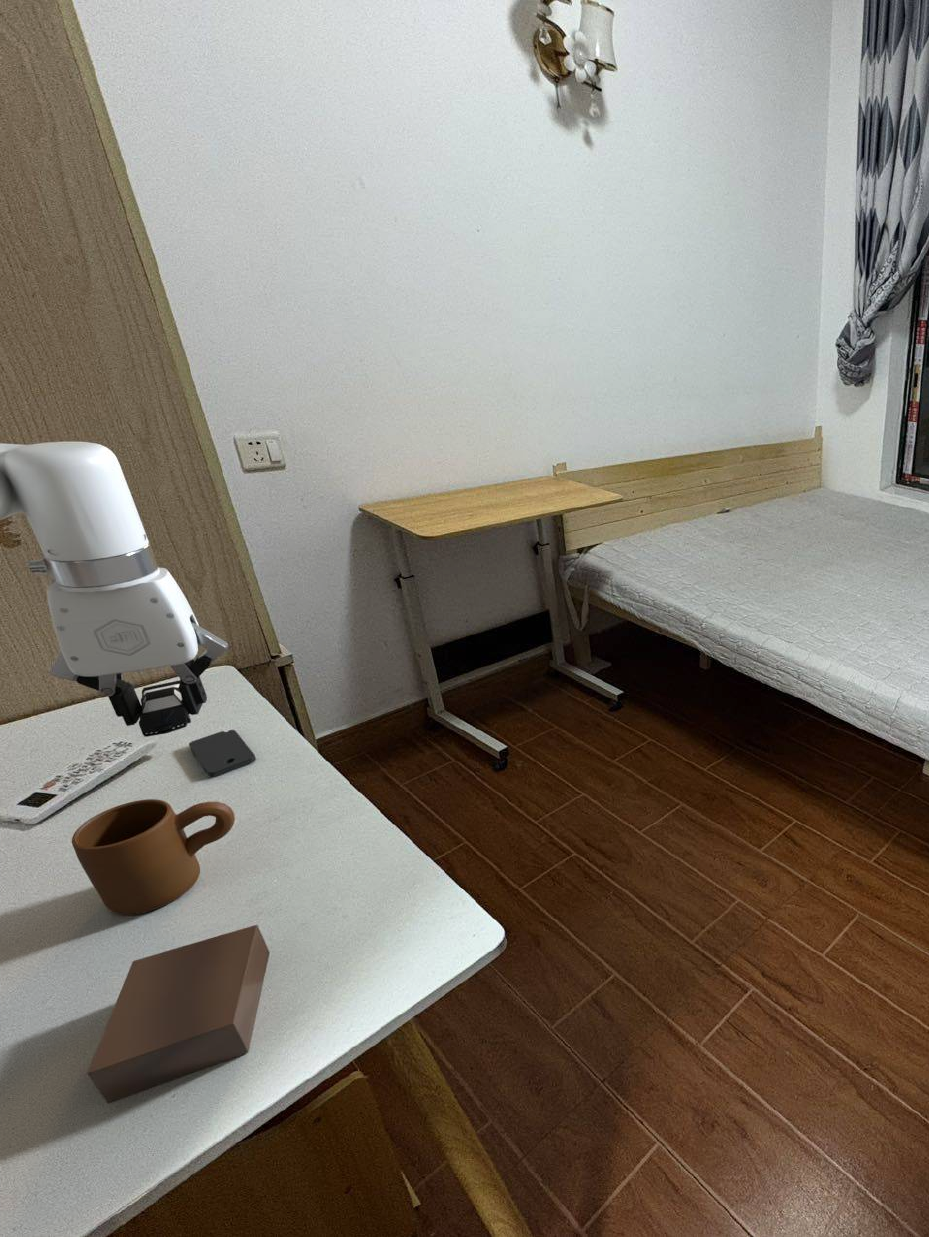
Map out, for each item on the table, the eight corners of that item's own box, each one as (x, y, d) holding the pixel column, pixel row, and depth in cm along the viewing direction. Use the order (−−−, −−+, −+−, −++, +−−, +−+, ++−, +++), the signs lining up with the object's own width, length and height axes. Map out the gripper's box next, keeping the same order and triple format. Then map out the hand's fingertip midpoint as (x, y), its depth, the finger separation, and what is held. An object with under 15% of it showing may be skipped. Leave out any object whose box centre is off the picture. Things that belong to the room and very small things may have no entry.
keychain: (232, 727, 97) (255, 756, 91) (234, 731, 97) (257, 760, 92) (187, 742, 93) (208, 773, 88) (189, 746, 93) (210, 778, 88)
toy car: (192, 731, 75) (184, 711, 74) (142, 744, 72) (133, 723, 71) (190, 692, 82) (183, 673, 80) (144, 703, 79) (136, 683, 78)
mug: (255, 839, 79) (229, 776, 75) (251, 882, 74) (223, 816, 70) (115, 879, 73) (79, 813, 69) (99, 930, 68) (58, 861, 63)
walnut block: (107, 1103, 54) (86, 1073, 52) (149, 989, 62) (132, 960, 61) (248, 1052, 58) (233, 1023, 56) (269, 952, 66) (257, 924, 65)
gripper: (-34, 590, 62) (49, 750, 70) (204, 568, 70) (254, 714, 78) (3, 563, 68) (76, 713, 76) (219, 546, 76) (264, 683, 84)
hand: (166, 712), depth 77 cm, fingers closed on toy car, 4 cm apart
